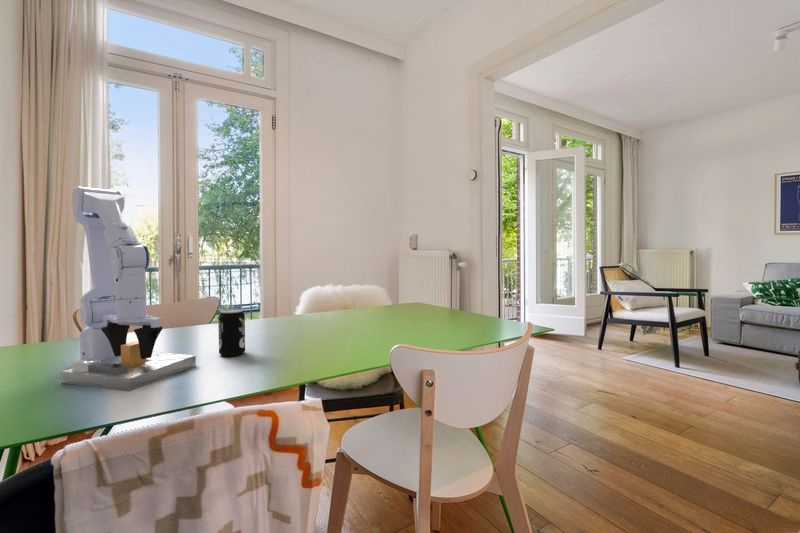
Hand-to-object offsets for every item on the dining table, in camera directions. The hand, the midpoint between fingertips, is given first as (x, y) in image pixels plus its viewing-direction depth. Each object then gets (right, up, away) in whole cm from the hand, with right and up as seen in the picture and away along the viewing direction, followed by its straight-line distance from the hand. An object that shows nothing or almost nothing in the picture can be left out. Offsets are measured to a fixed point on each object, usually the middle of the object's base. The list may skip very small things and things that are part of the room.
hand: (133, 356), depth 91 cm
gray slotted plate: (0, -4, 0) cm, 4 cm away
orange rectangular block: (0, -4, 0) cm, 4 cm away
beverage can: (+16, -3, +17) cm, 23 cm away
